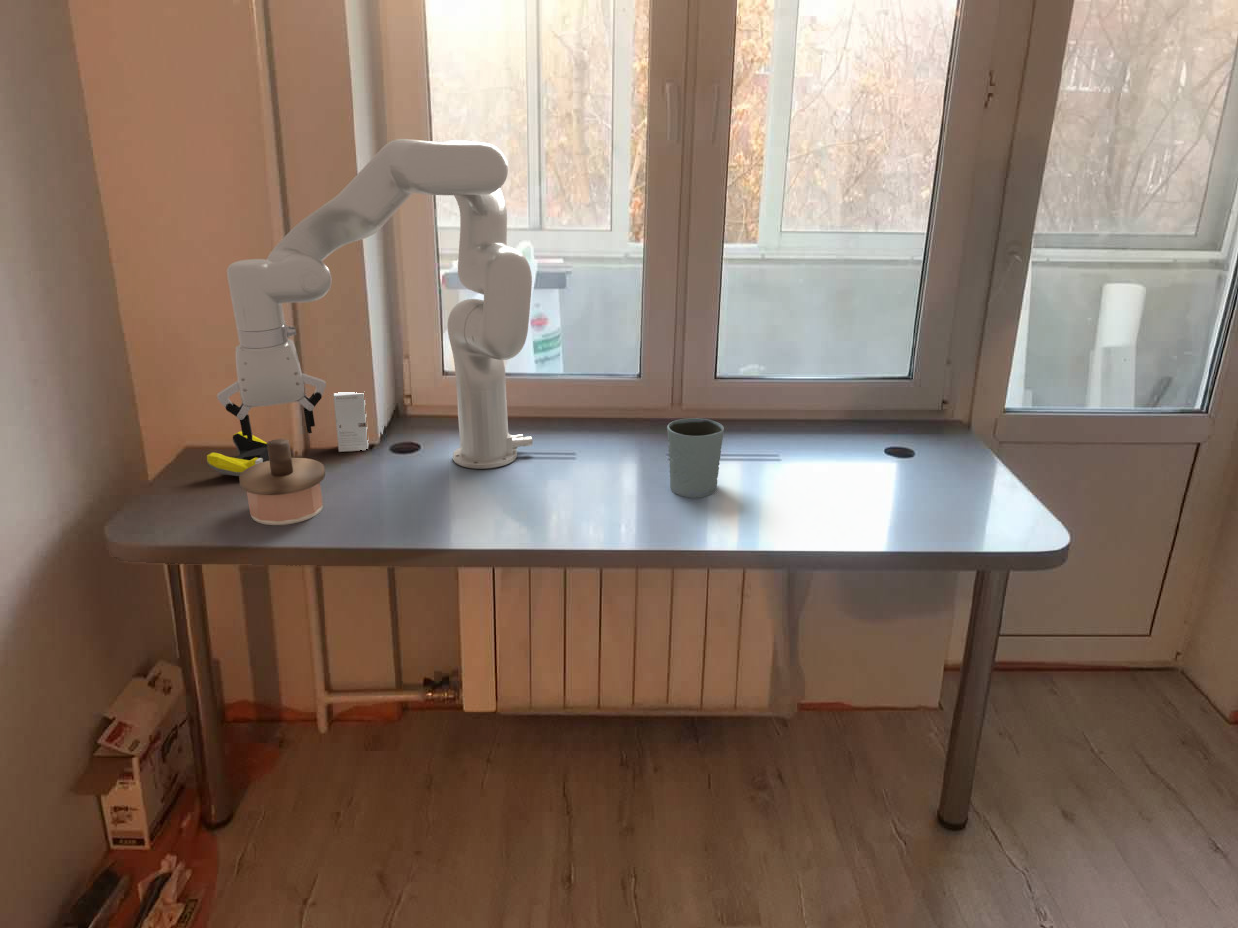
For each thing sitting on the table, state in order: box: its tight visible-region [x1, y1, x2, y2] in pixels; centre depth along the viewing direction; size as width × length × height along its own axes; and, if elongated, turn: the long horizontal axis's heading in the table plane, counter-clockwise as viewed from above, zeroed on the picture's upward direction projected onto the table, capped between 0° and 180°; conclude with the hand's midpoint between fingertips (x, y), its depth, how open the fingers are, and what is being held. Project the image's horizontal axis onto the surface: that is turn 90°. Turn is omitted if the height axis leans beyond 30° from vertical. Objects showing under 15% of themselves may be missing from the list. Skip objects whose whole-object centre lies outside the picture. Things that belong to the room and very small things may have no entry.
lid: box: [238, 438, 326, 495], centre depth 166 cm, size 14×14×7 cm
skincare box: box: [333, 392, 369, 453], centre depth 196 cm, size 6×4×12 cm
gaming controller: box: [206, 430, 269, 477], centre depth 187 cm, size 15×6×10 cm
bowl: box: [246, 482, 324, 526], centre depth 168 cm, size 12×12×6 cm
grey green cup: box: [666, 417, 725, 498], centre depth 176 cm, size 10×10×12 cm
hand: (280, 434), depth 165 cm, fingers open, 9 cm apart
